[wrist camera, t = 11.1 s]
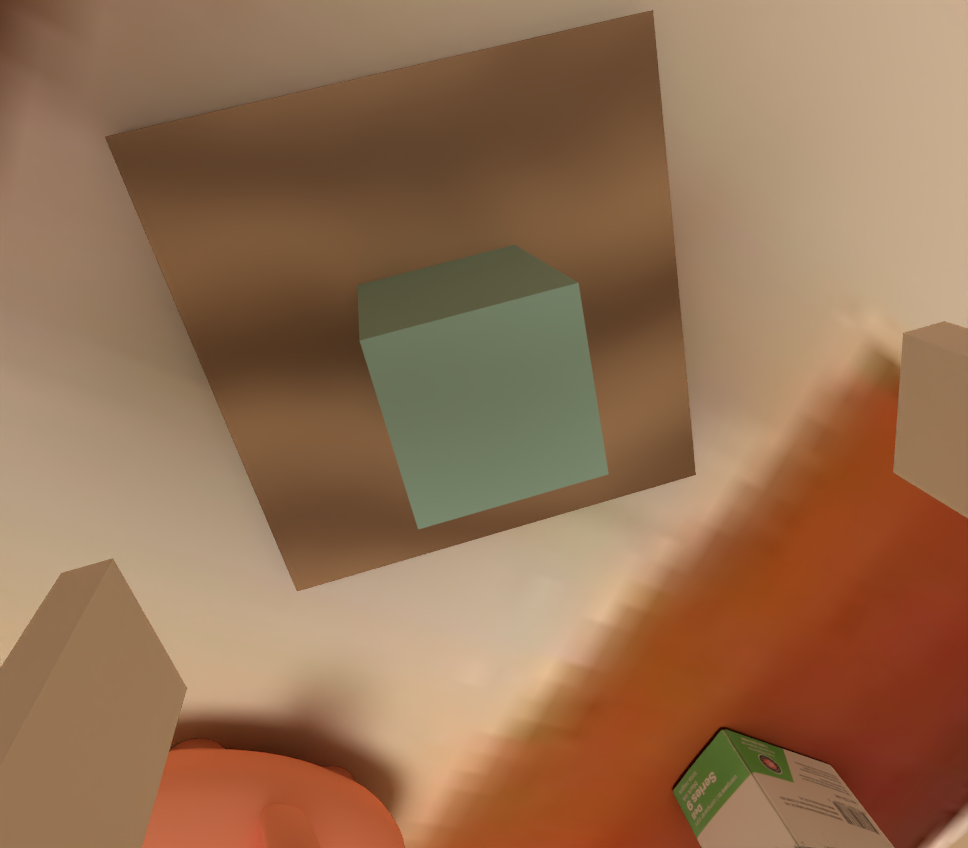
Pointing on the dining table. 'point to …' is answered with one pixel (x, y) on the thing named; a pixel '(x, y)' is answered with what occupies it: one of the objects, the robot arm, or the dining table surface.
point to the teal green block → (482, 381)
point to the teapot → (262, 803)
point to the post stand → (417, 266)
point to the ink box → (770, 800)
